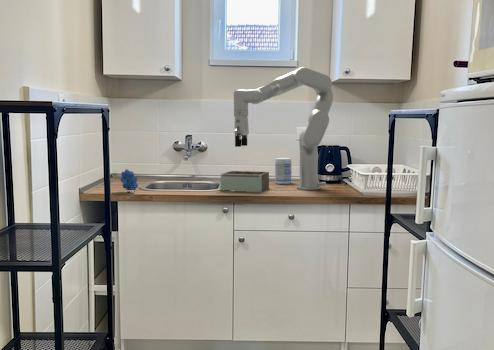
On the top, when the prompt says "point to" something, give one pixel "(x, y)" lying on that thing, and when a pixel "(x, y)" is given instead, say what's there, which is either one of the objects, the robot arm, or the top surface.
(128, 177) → the grapes
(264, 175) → the crate
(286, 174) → the supplement tub
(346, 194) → the top surface
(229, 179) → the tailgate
